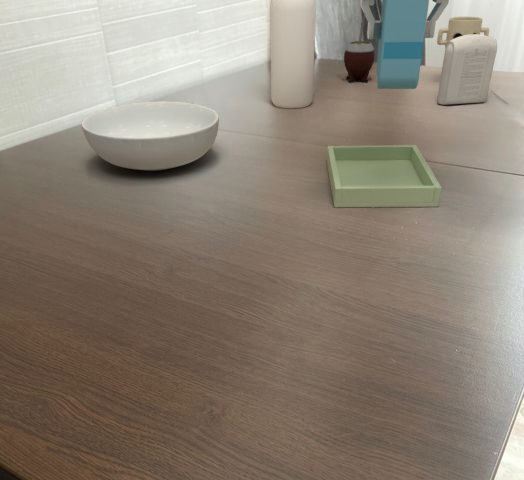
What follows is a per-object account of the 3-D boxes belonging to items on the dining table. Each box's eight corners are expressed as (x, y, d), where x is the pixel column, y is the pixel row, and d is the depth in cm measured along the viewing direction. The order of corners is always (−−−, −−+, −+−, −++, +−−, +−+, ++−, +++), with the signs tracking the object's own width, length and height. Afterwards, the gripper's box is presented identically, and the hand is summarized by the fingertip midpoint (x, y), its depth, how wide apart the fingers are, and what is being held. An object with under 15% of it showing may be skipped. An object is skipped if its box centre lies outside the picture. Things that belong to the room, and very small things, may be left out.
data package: (417, 92, 63) (434, -36, 56) (377, 91, 64) (388, -35, 57) (411, 70, 73) (424, -41, 65) (376, 70, 73) (385, -40, 66)
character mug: (433, 86, 126) (443, 20, 118) (428, 79, 132) (438, 16, 124) (482, 86, 125) (495, 20, 117) (475, 79, 131) (488, 16, 123)
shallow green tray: (413, 161, 86) (416, 144, 85) (438, 206, 72) (441, 187, 71) (326, 162, 87) (327, 145, 85) (334, 207, 73) (335, 188, 71)
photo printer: (478, 98, 117) (491, 31, 109) (489, 103, 114) (503, 34, 106) (433, 101, 115) (443, 34, 108) (442, 106, 112) (454, 37, 105)
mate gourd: (355, 76, 137) (360, 5, 128) (381, 80, 132) (388, 7, 123) (335, 80, 133) (339, 8, 124) (361, 85, 128) (366, 10, 119)
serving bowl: (145, 196, 77) (138, 146, 73) (65, 165, 89) (54, 120, 85) (248, 158, 89) (246, 113, 85) (165, 135, 101) (160, 94, 97)
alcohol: (314, 99, 120) (320, -76, 101) (310, 109, 113) (315, -77, 94) (274, 98, 121) (273, -75, 103) (268, 108, 114) (265, -75, 96)
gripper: (507, -116, 59) (480, 31, 68) (316, -109, 60) (313, 36, 68) (528, -120, 54) (496, 39, 63) (319, -112, 55) (315, 45, 63)
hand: (399, 38), depth 66 cm, fingers closed on data package, 5 cm apart
